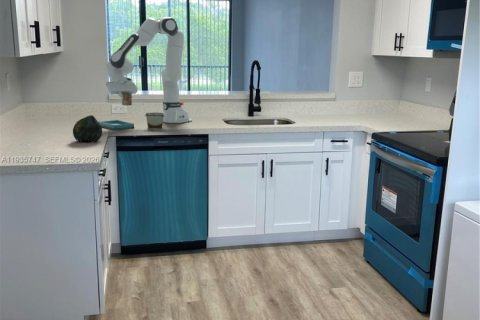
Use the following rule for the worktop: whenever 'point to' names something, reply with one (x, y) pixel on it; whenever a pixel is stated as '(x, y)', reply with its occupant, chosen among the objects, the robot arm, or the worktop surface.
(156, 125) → the food container
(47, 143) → the worktop surface
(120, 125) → the tray
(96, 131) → the squash
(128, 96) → the walnut block
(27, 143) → the worktop surface
